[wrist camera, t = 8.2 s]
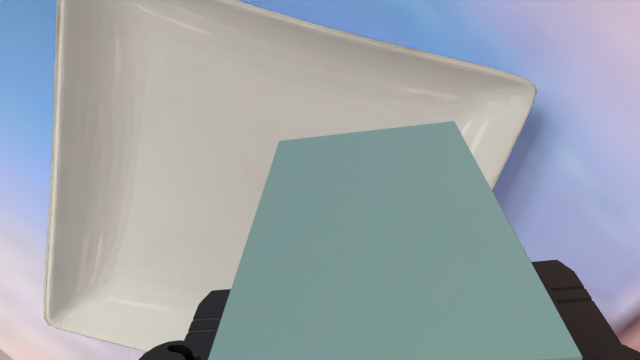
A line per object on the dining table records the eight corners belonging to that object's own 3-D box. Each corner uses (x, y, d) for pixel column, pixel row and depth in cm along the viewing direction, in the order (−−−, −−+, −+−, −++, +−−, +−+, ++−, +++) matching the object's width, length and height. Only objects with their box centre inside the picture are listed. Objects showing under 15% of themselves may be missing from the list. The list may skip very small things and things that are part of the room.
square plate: (87, -59, 31) (53, -58, 27) (527, 69, 32) (548, 85, 29) (62, 299, 42) (36, 333, 39) (388, 379, 44) (391, 418, 40)
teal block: (309, 305, 18) (277, 620, 10) (279, 140, 15) (201, 381, 7) (460, 293, 17) (557, 615, 9) (454, 120, 15) (582, 356, 7)
